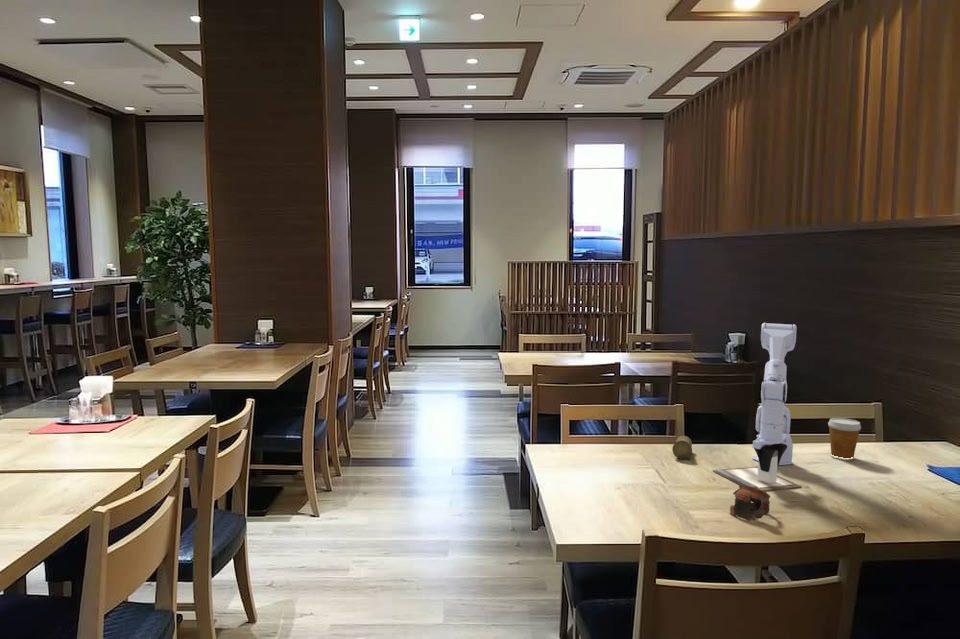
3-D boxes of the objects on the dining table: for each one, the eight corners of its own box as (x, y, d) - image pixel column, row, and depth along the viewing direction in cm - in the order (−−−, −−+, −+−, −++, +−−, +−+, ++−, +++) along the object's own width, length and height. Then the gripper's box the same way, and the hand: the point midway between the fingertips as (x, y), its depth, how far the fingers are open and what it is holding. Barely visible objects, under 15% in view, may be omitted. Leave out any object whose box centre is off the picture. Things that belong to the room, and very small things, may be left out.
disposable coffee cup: (865, 462, 209) (867, 425, 208) (835, 461, 210) (837, 424, 208) (848, 453, 219) (851, 417, 218) (820, 452, 219) (822, 417, 218)
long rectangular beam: (764, 477, 190) (766, 447, 189) (776, 481, 187) (778, 450, 186) (757, 480, 188) (758, 449, 187) (769, 483, 185) (770, 452, 184)
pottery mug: (719, 511, 167) (729, 481, 169) (749, 526, 169) (759, 496, 171) (749, 517, 156) (759, 484, 158) (781, 533, 157) (791, 500, 159)
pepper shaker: (689, 461, 208) (691, 453, 218) (694, 443, 207) (695, 436, 217) (670, 456, 210) (672, 448, 220) (674, 438, 209) (676, 431, 219)
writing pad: (757, 467, 202) (757, 464, 201) (801, 487, 184) (801, 484, 184) (712, 471, 197) (712, 468, 197) (753, 492, 180) (753, 489, 180)
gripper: (773, 416, 193) (770, 461, 194) (743, 422, 185) (741, 470, 186) (796, 421, 187) (793, 468, 188) (767, 428, 179) (764, 477, 180)
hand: (769, 469), depth 187 cm, fingers closed on long rectangular beam, 4 cm apart
